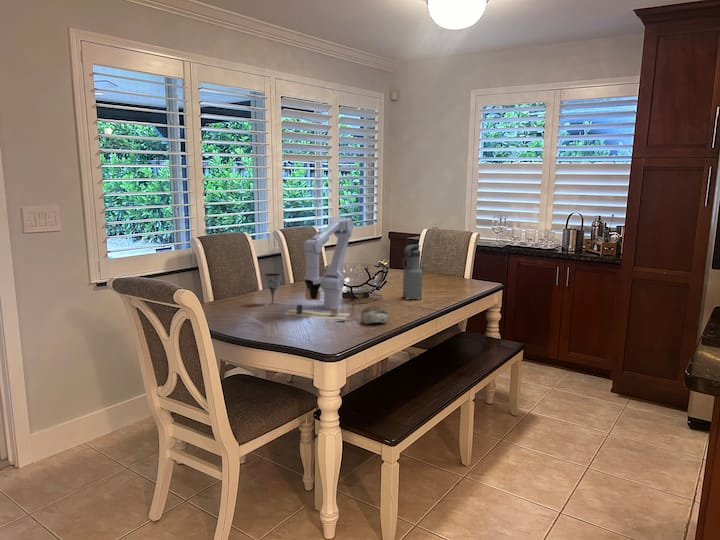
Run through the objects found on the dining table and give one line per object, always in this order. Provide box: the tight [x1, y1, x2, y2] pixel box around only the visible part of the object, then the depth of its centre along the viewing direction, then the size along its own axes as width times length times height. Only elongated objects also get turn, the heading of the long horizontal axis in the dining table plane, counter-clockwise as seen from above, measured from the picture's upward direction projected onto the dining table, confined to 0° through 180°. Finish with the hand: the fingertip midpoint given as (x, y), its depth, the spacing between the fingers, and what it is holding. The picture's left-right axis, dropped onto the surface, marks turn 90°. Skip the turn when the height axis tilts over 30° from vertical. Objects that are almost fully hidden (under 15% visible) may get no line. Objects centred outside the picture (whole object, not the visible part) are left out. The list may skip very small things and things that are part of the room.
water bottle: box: [402, 244, 423, 299], centre depth 280 cm, size 10×10×28 cm
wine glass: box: [263, 272, 282, 307], centre depth 261 cm, size 8×8×15 cm
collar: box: [304, 288, 321, 301], centre depth 239 cm, size 6×6×4 cm
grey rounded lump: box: [360, 305, 389, 325], centre depth 233 cm, size 14×9×10 cm
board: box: [282, 304, 351, 324], centre depth 240 cm, size 12×28×5 cm, turn 79°
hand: (312, 297), depth 239 cm, fingers closed on collar, 6 cm apart
